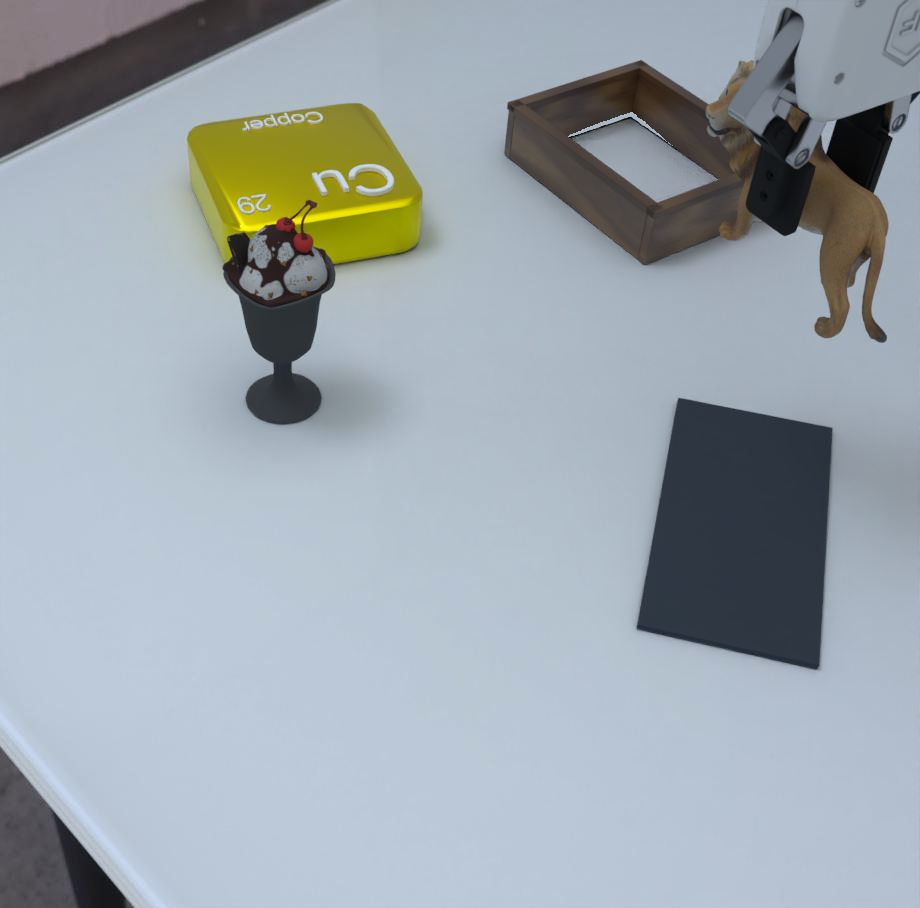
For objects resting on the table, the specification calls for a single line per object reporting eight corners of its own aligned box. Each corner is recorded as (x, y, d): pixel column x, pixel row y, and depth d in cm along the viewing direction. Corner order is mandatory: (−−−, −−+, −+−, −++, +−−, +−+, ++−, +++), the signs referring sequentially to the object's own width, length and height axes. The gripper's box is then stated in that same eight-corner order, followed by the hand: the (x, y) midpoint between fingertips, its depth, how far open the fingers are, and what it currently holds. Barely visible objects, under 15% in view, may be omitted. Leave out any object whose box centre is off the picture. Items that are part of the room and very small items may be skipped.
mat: (677, 401, 87) (678, 397, 86) (831, 432, 85) (832, 427, 85) (636, 628, 74) (637, 624, 73) (817, 669, 72) (819, 665, 72)
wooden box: (631, 110, 112) (641, 59, 109) (779, 212, 102) (795, 160, 99) (501, 154, 107) (507, 101, 103) (644, 266, 97) (655, 212, 93)
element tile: (366, 146, 107) (367, 91, 103) (428, 250, 97) (431, 194, 94) (185, 173, 103) (180, 118, 100) (231, 284, 94) (227, 227, 90)
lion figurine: (651, 200, 73) (709, 59, 66) (713, 170, 76) (775, 31, 68) (851, 368, 68) (937, 235, 60) (910, 329, 70) (1000, 198, 63)
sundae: (354, 408, 85) (359, 210, 74) (266, 446, 83) (256, 247, 72) (301, 353, 89) (297, 156, 78) (214, 388, 86) (197, 189, 75)
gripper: (844, -97, 50) (734, 295, 63) (1127, -174, 56) (973, 197, 69) (711, -164, 54) (635, 217, 67) (988, -228, 60) (868, 132, 74)
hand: (807, 203), depth 68 cm, fingers closed on lion figurine, 4 cm apart
